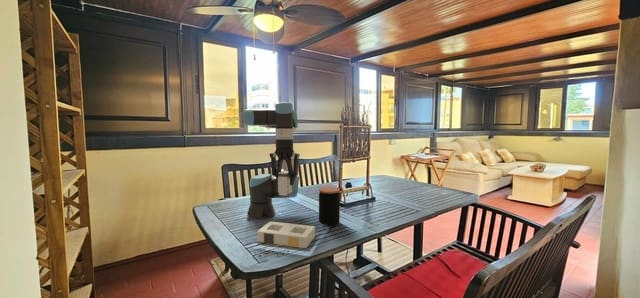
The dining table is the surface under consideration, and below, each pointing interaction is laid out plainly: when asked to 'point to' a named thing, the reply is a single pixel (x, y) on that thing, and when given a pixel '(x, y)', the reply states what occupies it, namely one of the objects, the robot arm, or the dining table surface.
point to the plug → (283, 183)
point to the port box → (286, 234)
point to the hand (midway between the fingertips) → (285, 192)
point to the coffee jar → (329, 205)
